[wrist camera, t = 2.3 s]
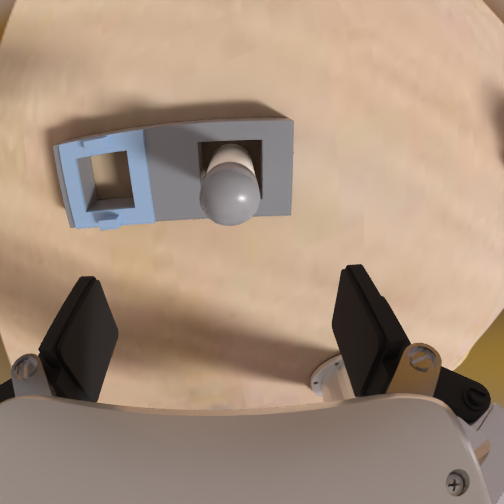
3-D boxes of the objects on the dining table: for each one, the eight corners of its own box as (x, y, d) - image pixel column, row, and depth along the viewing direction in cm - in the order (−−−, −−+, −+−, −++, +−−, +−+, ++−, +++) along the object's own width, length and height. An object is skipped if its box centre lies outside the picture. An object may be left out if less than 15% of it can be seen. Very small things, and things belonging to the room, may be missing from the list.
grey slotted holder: (287, 117, 27) (296, 122, 23) (286, 203, 31) (293, 221, 27) (66, 140, 26) (45, 149, 22) (81, 216, 30) (64, 233, 27)
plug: (252, 142, 28) (260, 167, 19) (252, 182, 30) (260, 224, 21) (209, 144, 28) (196, 170, 19) (211, 183, 30) (201, 227, 21)
